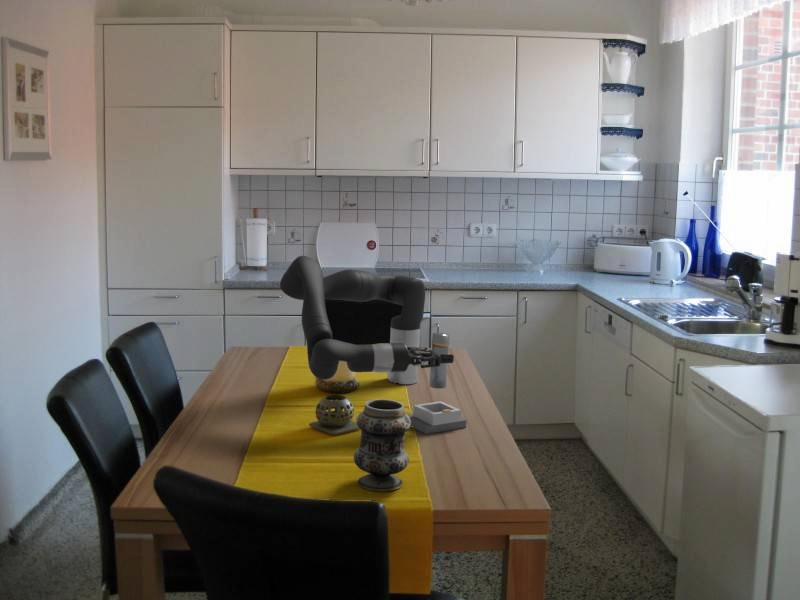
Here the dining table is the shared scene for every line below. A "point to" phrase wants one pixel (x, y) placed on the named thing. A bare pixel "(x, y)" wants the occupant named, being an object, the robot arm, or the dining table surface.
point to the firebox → (436, 417)
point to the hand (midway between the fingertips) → (449, 356)
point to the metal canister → (440, 372)
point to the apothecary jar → (382, 444)
